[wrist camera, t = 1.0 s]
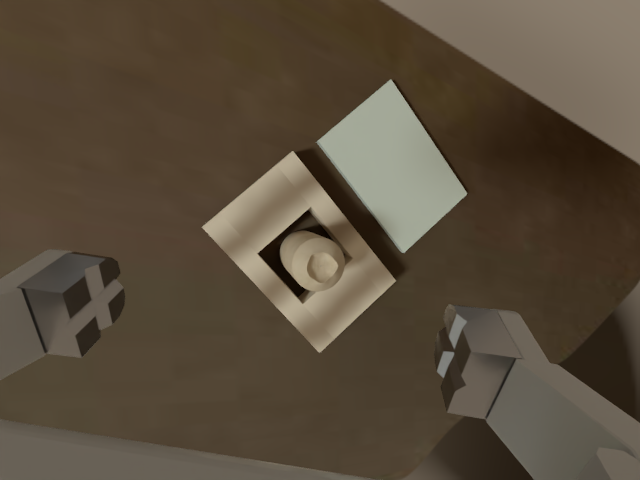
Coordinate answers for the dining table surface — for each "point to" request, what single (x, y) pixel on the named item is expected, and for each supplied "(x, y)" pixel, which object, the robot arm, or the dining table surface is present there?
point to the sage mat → (393, 166)
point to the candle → (312, 260)
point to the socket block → (272, 219)
